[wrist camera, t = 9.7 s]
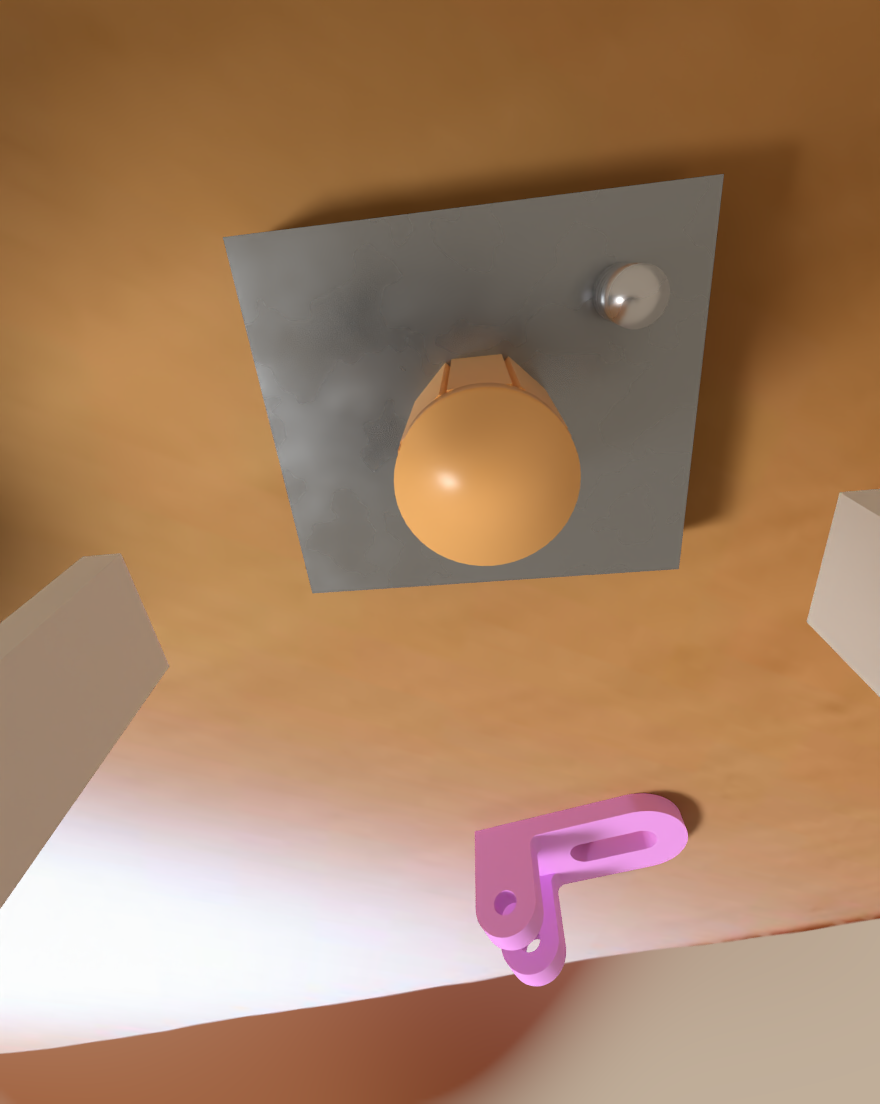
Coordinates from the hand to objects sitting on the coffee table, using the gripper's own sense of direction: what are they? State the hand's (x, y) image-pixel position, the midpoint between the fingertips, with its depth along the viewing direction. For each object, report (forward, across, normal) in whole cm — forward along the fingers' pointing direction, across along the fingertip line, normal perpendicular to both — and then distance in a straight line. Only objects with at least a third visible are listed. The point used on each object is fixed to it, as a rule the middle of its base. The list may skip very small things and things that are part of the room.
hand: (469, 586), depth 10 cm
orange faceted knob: (+12, +1, 0) cm, 12 cm away
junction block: (+15, +1, 0) cm, 15 cm away
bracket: (+15, +6, -29) cm, 33 cm away
